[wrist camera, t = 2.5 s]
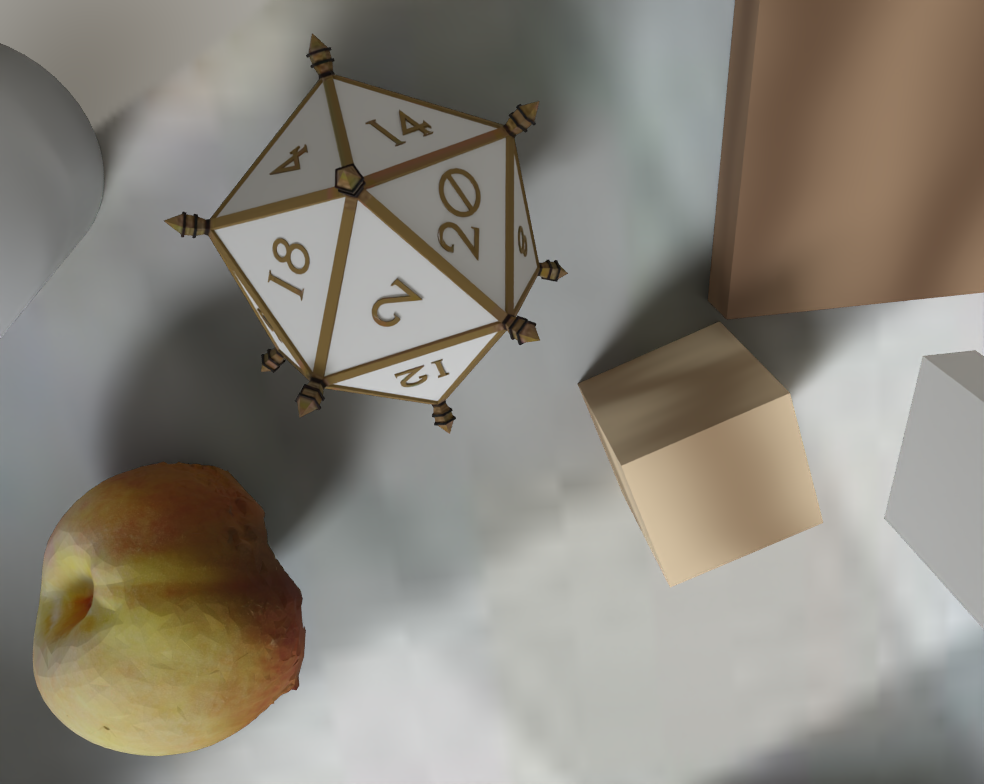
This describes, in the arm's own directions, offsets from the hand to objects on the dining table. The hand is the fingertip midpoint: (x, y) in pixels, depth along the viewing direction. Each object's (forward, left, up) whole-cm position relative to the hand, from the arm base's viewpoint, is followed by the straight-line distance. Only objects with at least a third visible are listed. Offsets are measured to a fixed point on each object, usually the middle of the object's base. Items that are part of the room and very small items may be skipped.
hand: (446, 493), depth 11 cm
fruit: (-7, -10, -15) cm, 19 cm away
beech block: (+9, -8, -15) cm, 19 cm away
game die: (0, 0, -15) cm, 15 cm away
